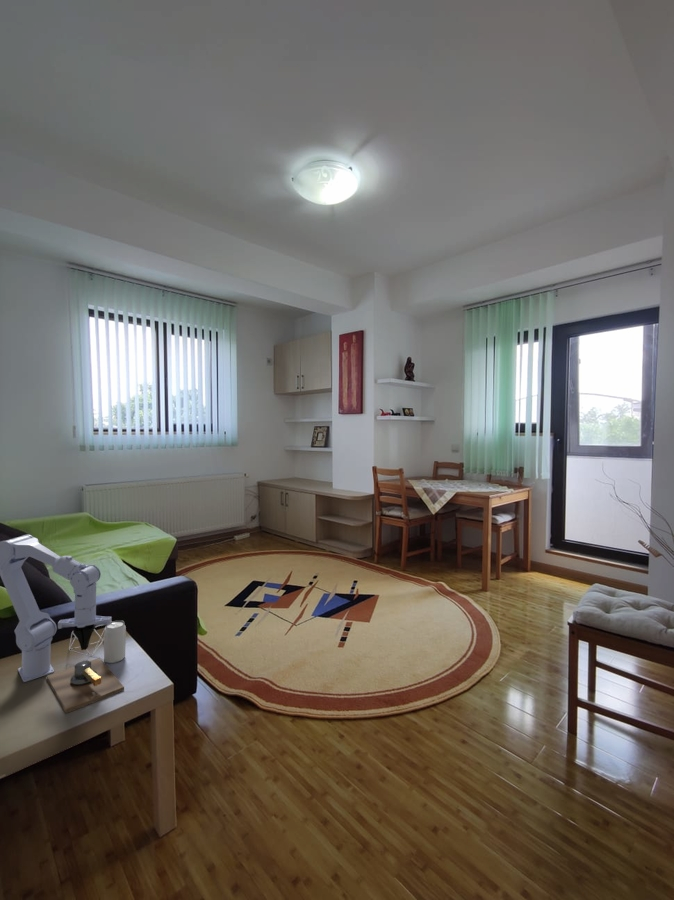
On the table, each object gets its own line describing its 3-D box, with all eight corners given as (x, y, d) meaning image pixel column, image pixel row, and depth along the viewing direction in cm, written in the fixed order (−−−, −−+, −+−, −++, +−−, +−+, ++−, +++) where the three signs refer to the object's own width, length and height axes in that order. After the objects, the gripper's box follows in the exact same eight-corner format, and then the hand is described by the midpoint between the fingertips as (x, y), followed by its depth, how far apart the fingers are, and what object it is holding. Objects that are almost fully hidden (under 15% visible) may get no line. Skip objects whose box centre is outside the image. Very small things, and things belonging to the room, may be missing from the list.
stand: (46, 678, 128) (46, 674, 128) (99, 660, 139) (99, 657, 139) (66, 713, 113) (66, 709, 113) (123, 689, 124) (124, 686, 124)
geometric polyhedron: (92, 638, 154) (92, 614, 153) (114, 643, 150) (114, 619, 150) (60, 654, 142) (60, 628, 142) (83, 661, 138) (83, 635, 138)
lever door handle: (66, 679, 126) (66, 666, 126) (91, 669, 131) (91, 657, 131) (84, 697, 118) (85, 683, 118) (110, 685, 123) (110, 672, 123)
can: (120, 651, 145) (121, 618, 144) (128, 658, 141) (129, 624, 140) (100, 658, 140) (101, 624, 139) (108, 666, 136) (109, 630, 135)
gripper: (53, 612, 123) (53, 657, 123) (107, 609, 126) (106, 652, 127) (63, 603, 130) (62, 645, 130) (113, 600, 133) (113, 641, 134)
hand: (84, 648), depth 129 cm, fingers closed
